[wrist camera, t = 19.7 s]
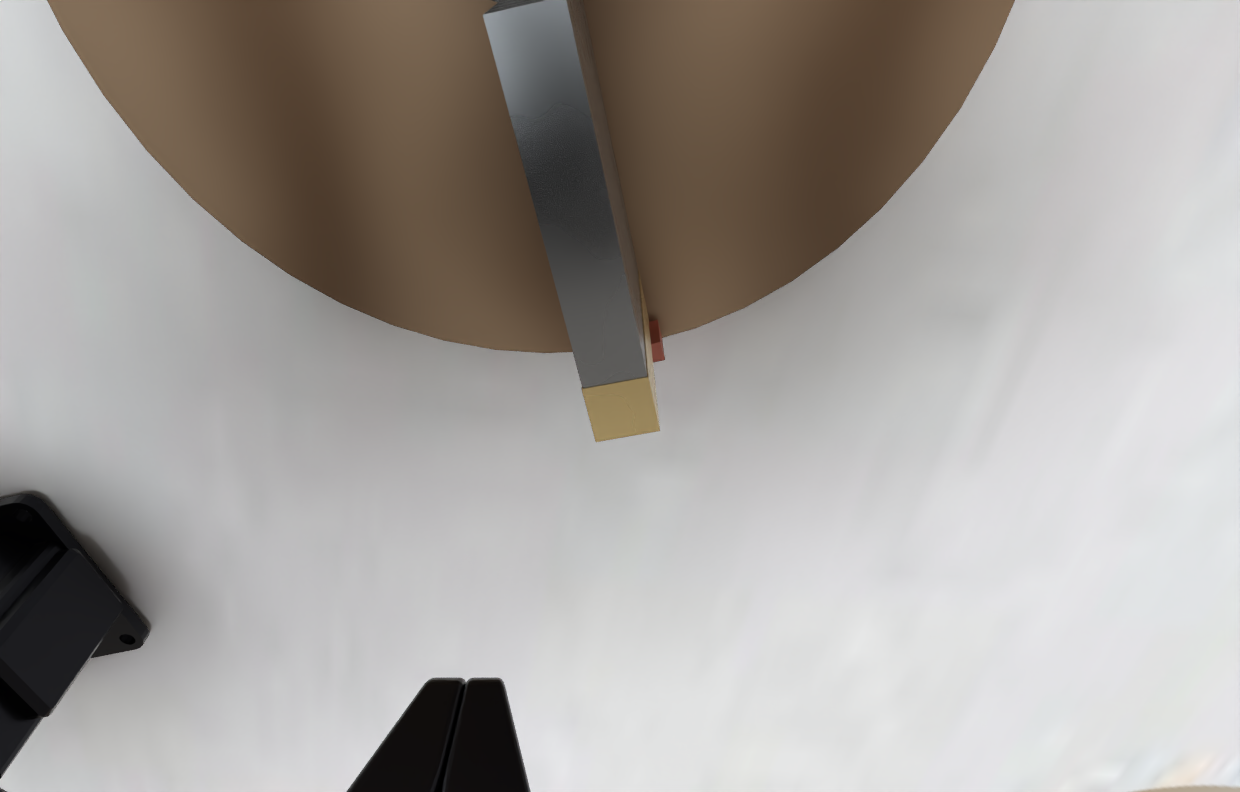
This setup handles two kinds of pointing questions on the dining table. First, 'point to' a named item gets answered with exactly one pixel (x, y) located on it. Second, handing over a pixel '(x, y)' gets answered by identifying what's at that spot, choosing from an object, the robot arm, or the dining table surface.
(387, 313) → the base
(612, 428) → the crank
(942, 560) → the dining table surface
